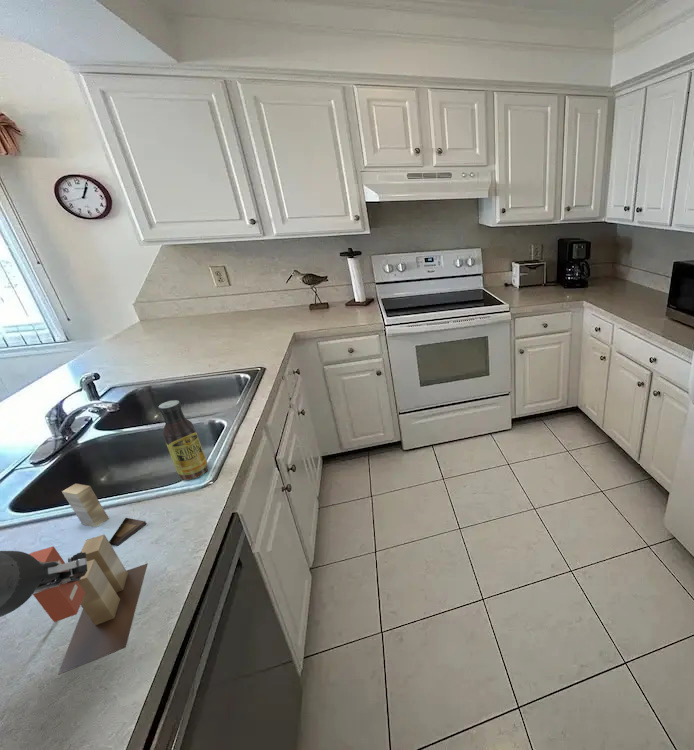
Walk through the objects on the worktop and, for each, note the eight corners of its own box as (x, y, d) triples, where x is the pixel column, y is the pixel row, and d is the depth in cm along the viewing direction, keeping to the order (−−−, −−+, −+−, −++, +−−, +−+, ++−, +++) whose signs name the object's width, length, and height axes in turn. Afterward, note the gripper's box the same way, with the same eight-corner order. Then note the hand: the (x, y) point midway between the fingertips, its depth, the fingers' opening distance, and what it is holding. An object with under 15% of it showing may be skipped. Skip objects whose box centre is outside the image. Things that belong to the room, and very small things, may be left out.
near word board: (59, 678, 61) (21, 633, 56) (95, 584, 75) (66, 542, 71) (127, 650, 64) (96, 605, 60) (149, 566, 79) (125, 524, 74)
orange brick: (53, 622, 59) (16, 574, 54) (63, 600, 62) (29, 553, 58) (77, 614, 60) (43, 566, 55) (86, 592, 63) (54, 545, 59)
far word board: (117, 545, 83) (93, 505, 79) (73, 536, 86) (47, 496, 81) (146, 523, 88) (125, 484, 84) (103, 515, 91) (81, 477, 86)
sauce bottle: (187, 484, 100) (156, 414, 91) (175, 476, 103) (143, 407, 94) (215, 469, 105) (188, 402, 96) (203, 462, 108) (175, 395, 99)
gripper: (52, 529, 50) (119, 534, 65) (-124, 580, 44) (-5, 572, 59) (57, 593, 48) (125, 583, 63) (-126, 655, 42) (-3, 628, 57)
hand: (62, 578), depth 61 cm, fingers closed on orange brick, 2 cm apart
